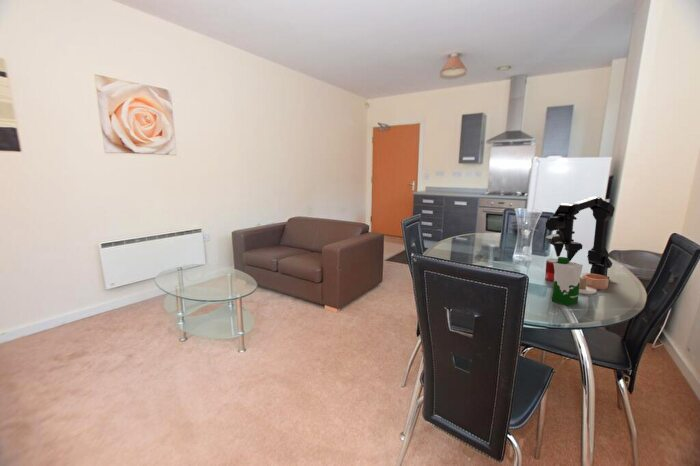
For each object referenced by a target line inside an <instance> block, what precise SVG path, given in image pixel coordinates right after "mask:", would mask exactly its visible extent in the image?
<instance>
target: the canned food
mask: <svg viewBox="0 0 700 466" xmlns="http://www.w3.org/2000/svg"><path fill="white" fill-rule="evenodd" d="M555 262H558V258H547V259H546V261H545V272H544V273H545V274H544V279H545V280H546V281H549V282H553V283H554V273H555V271H554V264H553V263H555Z"/></svg>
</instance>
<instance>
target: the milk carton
mask: <svg viewBox="0 0 700 466" xmlns="http://www.w3.org/2000/svg"><path fill="white" fill-rule="evenodd" d="M557 259H558V262H555V263H553V264H554V271H555V273H554V282H553V286H552V287H553V288H552V296H551V302H553V303H554V302H555V303H556V304H557V303H558V304H559V305H560V304H561V305H563V306H566V307H570V306H573V305H576V304H579V296H578V295H579V285H580V277H581V275H582V270H583V266H584V265H583V264H580V263H577V262H573V261H570V262H569V258H567V256H566V257H564V256H559V257H557Z"/></svg>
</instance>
